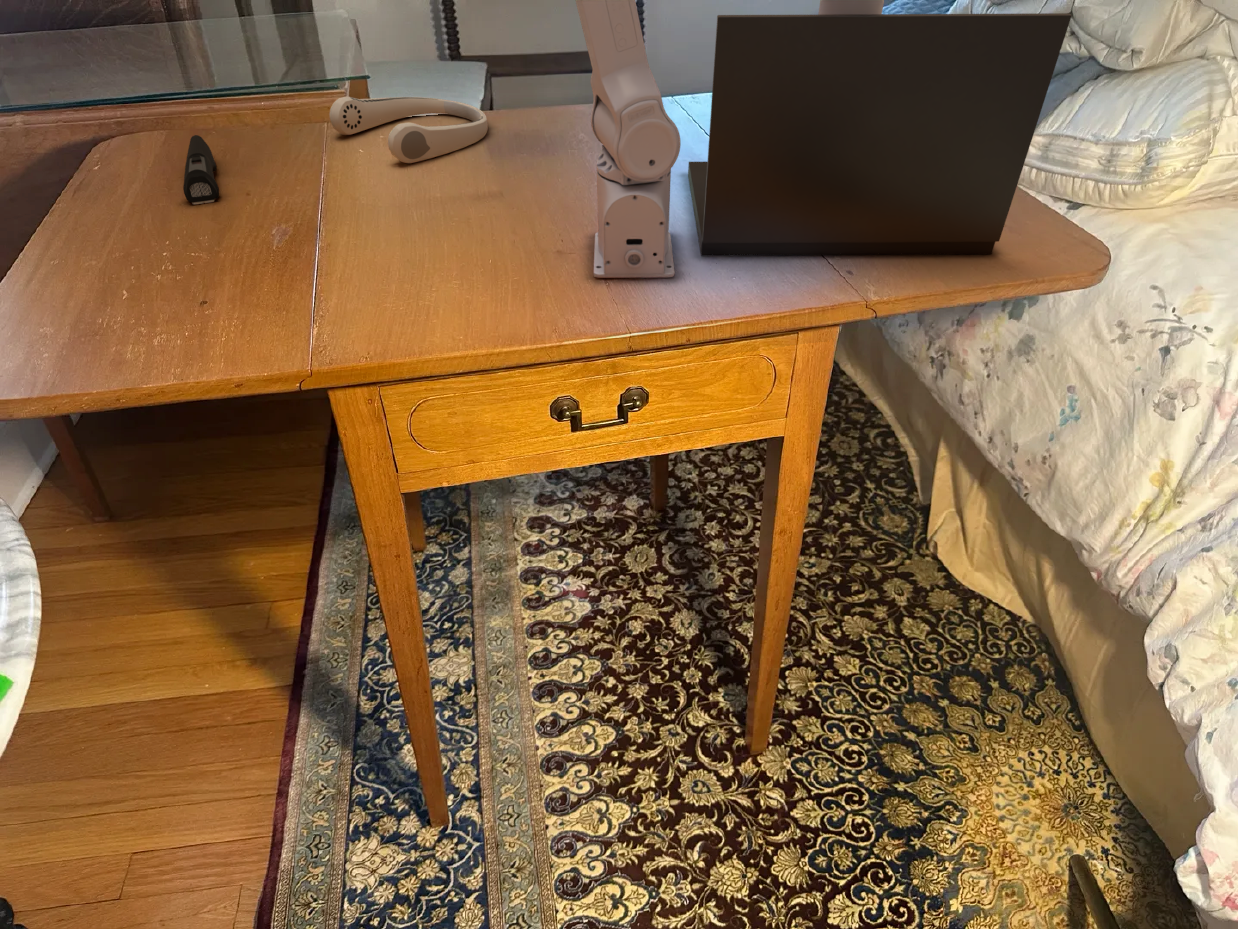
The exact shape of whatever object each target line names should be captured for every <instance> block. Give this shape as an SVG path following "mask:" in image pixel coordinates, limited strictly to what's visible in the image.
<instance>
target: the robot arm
mask: <svg viewBox="0 0 1238 929" xmlns="http://www.w3.org/2000/svg"><path fill="white" fill-rule="evenodd" d="M636 3H637V2H636V0H575V4H576V8H577V12H578V13H577V14H578V16H579V21H580V23H581V25H580V26H581V29H582V33H583V37H584V40H585V41H584V42H585V44H586V48H587V52H588V56H589V60H590V65H591V70H592V72H591V77H590V86H591V90H592V96H593V100H592V102H593V103H592V108H591V113H590V126H591V129H592V132H593V135H594V136H595V138H596V140H597V141H598V142H599V143H601V150H600V152H599V155H598V157H597V160H596V201H597V207H596V208H597V232H595V234H594V250H593V252H594V253H593V277H595V278H599V279H603V278H604V279H605V278H606V279H607V278H608V279H609V278H610V279H613V278H614V279H616V278H626V279H627V278H672V277H673V278H674V277H675V263H674V257H673V256H674V255H673V254H674V253H673V246H672V236H671V232H670V231H669V230H670V206H671V205H670V203H671V180H672V179H671V178H672V177H671V176H672V168H673V167H674V165H675V164H676V162H677V160H678V158H679V155H680V151H681V146H682V145H681V135H680V132H679V129H678V127H677V124H676V123H675V122H674V121H673V119H672V118H670V116H669V115H668V113H667V111H666V110H665V106H664V103H663V97H662V93H661V91H660V89H659V86H658V84H657V81H656V79H655V77H654V74H653V72H652V70H651V66H650V64H649V61H648V57H647V51H646V47H645V42H644V37H643V32H642V26H641V22H640V16H639V12H638V7H637V4H636ZM884 3H885V0H819V6H818V14H817V15H832V14H883V10H884Z"/></svg>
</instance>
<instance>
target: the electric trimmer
mask: <svg viewBox="0 0 1238 929" xmlns="http://www.w3.org/2000/svg"><path fill="white" fill-rule="evenodd" d="M216 171H217V163H216V161H215V157H214V155H213V152H212V150H211V148H210V146H209V145H208V143H207V142H206V141H205V140H204V139H203V137H202V136H200V135H198V134H194V135H192V136H191V137H190V139H189V144H188V149H187V154H186V159H185V166H184V175H183V186H182V188H183V190H182V191H183V194H184V196H185V199H186V201H188V202H189V203H192V205H199V204H204V203H205V204H208V203H214V202H215V200H217V199H219V197H220V187H219V185H218V182H217V181H216V179H215V176H214V173H215V172H216Z"/></svg>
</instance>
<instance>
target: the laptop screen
mask: <svg viewBox="0 0 1238 929" xmlns="http://www.w3.org/2000/svg"><path fill="white" fill-rule="evenodd" d="M1071 19H1072V15H1071V14H1070V13H1068V12H1065V13H1064V12H1063V13H1062V12H1060V13H1056V12H1055V13H1054V12H1053V13H1051V12H1050V13H1049V12H1047V13H1043V12H1041V13H1037V12H1036V13H882V14H832V15H818V14H718V15H717V16H716V28H715V30H716V31H715V45H714V59H713V60H714V61H713V73H712V77H713V78H712V90H711V104H710V119H709V120H710V121H709V134H708V148H707V161H706V162H707V177H706V192H705V207H704V222H703V236H702V241H703V243H816V242H995V243H996V242H997V243H999V242H1000V241H1001V240H1000V239H1001V237H1002V234H1003V230H1004V227H1005V226H1006V221H1007V219H1008V215H1009V212H1010V208H1011V206H1012V203H1013V200H1014V196H1015V193H1016V190H1017V187H1018V184H1019V181H1020V178H1021V175H1022V171H1023V168H1024V165H1025V162H1026V159H1027V156H1028V153H1029V150H1030V146H1031V143H1032V141H1033V137H1034V135H1035V131H1036V128H1037V125H1038V122H1039V118H1040V115H1041V112H1042V110H1043V106H1044V103H1045V100H1046V97H1047V94H1048V90H1049V88H1050V84H1051V81H1052V78H1053V75H1054V72H1055V70H1056V67H1057V63H1058V60H1059V56H1060V53H1061V50H1062V47H1063V44H1064V41H1065V37H1066V35H1067V33H1068V32H1067V31H1068V29H1069V25H1070V22H1071Z"/></svg>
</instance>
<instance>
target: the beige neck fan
mask: <svg viewBox="0 0 1238 929" xmlns="http://www.w3.org/2000/svg"><path fill="white" fill-rule="evenodd" d="M427 114H428V115H430V114H431V115H432V114H439V115H441V114H442V115H450V116H456V117H460V118H464V119H467V120H469V121H470V122H463V123H457V124H446V125H420V124H418V123H415V122H402V123H398V124H396V125H395V126H393V128H392V129H391V131H390V132H389V133H388V137H387V146H388V150H389V152H390V153H391V155H392V156H393V157H394V158H396V159H397V160H398V161H400V162H401V163H404V164H412V163H418V162H423V161H425V160H429V159H433V158H435V157H440V156H443V155H446V154H449V153H453V152H455V151H458V150H462V149H464V148H467V147H468V146H471V145H472V144H475V143H477V142H479V141H480V140H481V139H483V138H485V136H486V135H487V133H488V130H489V129H488V127H489V125H488V123H489V122H488V118H487V115H486V114H485V112H484V111H482V110H481V109H479V108H478V107H475V106H473V105H471V104H468V103H466V102H465V103H464V102H462V101H461V102H460V101H457V100H456V101H455V100H449V99H441V98H435V97H434V98H433V97H423V96H394V97H374V98H360V99H359V98H356V97H352V96H348V95H347V96H342V97H339V98H337V99H335V101H333V103H332V105H331V107H330V109H329V121H330V124H331V126H332V128H333V129H334V130H335V131H336V132H337V133H339V134H340V135H343V136H351V135H353V134H357V133H360V132H363V131H365V130H368V129H372V128H375V127H377V126H380V125H383V124H387V123H390V122H393V121H395V120H396V121H397V120H401V119H404V118H408V117H413V116H419V115H427ZM380 119H381V120H380Z"/></svg>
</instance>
